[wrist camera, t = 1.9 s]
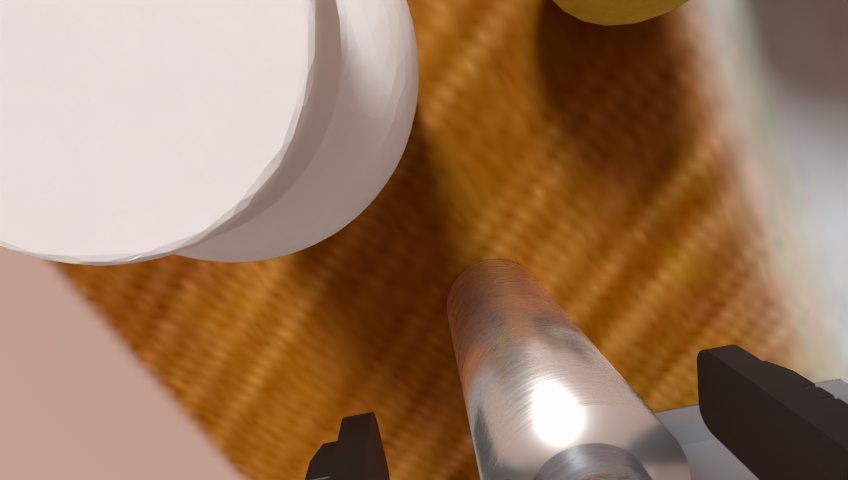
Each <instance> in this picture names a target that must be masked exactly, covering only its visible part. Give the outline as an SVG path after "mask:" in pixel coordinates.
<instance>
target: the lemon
mask: <svg viewBox="0 0 848 480" xmlns="http://www.w3.org/2000/svg"><path fill="white" fill-rule="evenodd" d="M553 1H554V2H555V3H556V4H557V5H558V6H559V7H560V8H561V9H562V10H563V11H564V12H566V13H568V14H570V15H572V16H574V17H576V18H578V19H579V20H581V21H584V22H589V23H594V24H599V25H605V26H611V25H624V24H634V23H638V22H642V21H645V20H648V19H650V18H653V17H656V16H659V15H662V14H665V13H667V12H670V11H672V10H674V9H676V8H677V7H679V6H681V5H682V4H684V3H685V2H687V1H688V0H553Z"/></svg>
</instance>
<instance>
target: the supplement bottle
mask: <svg viewBox="0 0 848 480" xmlns="http://www.w3.org/2000/svg"><path fill="white" fill-rule="evenodd" d="M418 84H419V68H418V52H417V42H416V37H415V31H414V26H413V21H412V18H411V14H410V11H409V7H408V4H407V1H406V0H0V247H3V248H6V249H9V250H12V251H15V252H18V253H21V254H25V255H28V256H32V257H35V258H39V259H46V260H52V261H59V262H65V263H70V264H87V265H99V266H104V265H119V264H129V263H136V262H142V261H147V260H152V259H157V258H162V257H165V256H168V255H171V254H177V255H181V256H185V257H189V258H194V259H201V260H209V261H219V262H251V261H260V260H266V259H271V258H276V257H280V256H284V255H288V254H291V253H295V252H298V251H300V250H303V249H305V248H307V247H310V246H312V245H315V244H317V243H319V242H321V241H322V240H324V239H326V238H328V237H330V236H331V235H333V234H335V233H337V232H338V231H339V230H341V229H342V228H343V227H345V226H346V225H347V224H349V223H350V222H351V221H353V220H354V219H355V218H356V217H357V216H358V215H360V214H361V213H362V212H363V211H364V210H365V209H366V208H367V207H368V206H369V205H370V204H371V202H372V201H373V200H374V199H375V197H376V196H377V195H378V194H379V192H380V191H381V190H382V188H383V187H384V186H385V184H386V183H387V182H388V180H389V178H390V177H391V175H392V174H393V172H394V171H395V169H396V167H397V165H398V163H399V161H400V159H401V157H402V155H403V153H404V150H405V147H406V145H407V142H408V139H409V136H410V132H411V129H412V124H413V120H414V116H415V112H416V106H417V98H418Z"/></svg>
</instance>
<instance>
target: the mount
mask: <svg viewBox="0 0 848 480" xmlns="http://www.w3.org/2000/svg"><path fill="white" fill-rule="evenodd" d="M815 386H816V387H821V388H822V389H824V390H826V391H827V392H829V393H831V394H832V395H834V397H835V399H838V398H839V399H841V400H842V401H844V402H846V403H847V404H848V384H847V383H846V382H844V381H842V380H840V379H836V380H831V381H826V382H820V383H815ZM654 414H655V415H656V416H657V417H658V419H659V420H660V421H661V422H662V423H663V424H664V425H665V427H666V428H667V429H668V430H669V431H670V432H671V433H672V435H673V436H674V437H675V438H676V440H677V441H678V443H679V444H680V445H681V447H682V449H683V451H684V453H685V455H686V458H687V461H688V464H689V468H690V475H691V480H759V479H758V478H757V477H756V476H755V475H754V474H753V473H752V472H751V471H750V470H749V469H748V468H747V467H746V466H745V465H744V464H743V463H742V462H740V461H739V460H738V459H737V458H736V457H735V456H734V455H733V454H732V453H731V452H730V451H729V450H728V449H727V448H726V447H725V446H724V445H723V444H722V443H721V442H720V441H719V440H718V439H717V438H716V437H715V436H714V435H713V434H712V433H711V432H710V431H709V430H708V428H707V426H706V425H705V423H704V421H703V419H702V416H701V413H700V409H699V405H696V406H691V407H685V408H680V409H675V410H669V411H664V412H658V413H654Z"/></svg>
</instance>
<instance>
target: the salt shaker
mask: <svg viewBox="0 0 848 480" xmlns="http://www.w3.org/2000/svg"><path fill="white" fill-rule="evenodd" d="M447 315H448V320H449V325H450V330H451V335H452V340H453V345H454V350H455V355H456V360H457V365H458V370H459V375H460V380H461V385H462V390H463V395H464V400H465V405H466V410H467V415H468V420H469V425H470V430H471V435H472V440H473V445H474V450H475V455H476V460H477V465H478V469H479V474H480V479H481V480H691V475H690V468H689V464H688V461H687V458H686V455H685V453H684V451H683V449H682V447H681V445H680V444H679V443H678V441H677V440H676V438H675V437H674V436H673V435H672V433H671V432H670V431H669V430H668V429H667V428H666V427H665V425H664V424H663V423H662V422H661V421H660V420H659V419H658V417H657V416H656V415H655V414H654V413H653V412H652V411H651V409H650V408H649V407H648V406H647V405H646V404H645V403H644V401H643V400H642V399H641V398H640V397H639V396H638V395H637V393H636V392H635V391H634V390H633V389H632V388H631V387H630V385H629V384H628V383H627V382H626V381H625V380H624V379H623V377H622V376H621V375H620V374H619V373H618V372H617V371H616V369H615V368H614V367H613V366H612V365H611V364H610V363H609V362H608V360H607V359H606V358H605V357H604V356H603V355H602V354H601V352H600V351H599V350H598V349H597V348H596V347H595V346H594V344H593V343H592V342H591V341H590V340H589V339H588V338H587V336H586V335H585V334H584V333H583V332H582V331H581V330H580V328H579V327H578V326H577V325H576V324H575V323H574V322H573V320H572V319H571V318H570V317H569V316H568V315H567V314H566V312H565V311H564V310H563V309H562V308H561V307H560V306H559V304H558V303H557V302H556V301H555V300H554V299H553V298H552V296H551V295H550V294H549V293H548V292H547V291H546V290H545V288H544V287H543V286H542V285H541V284H540V283H539V282H538V280H537V279H536V278H535V277H534V276H533V275H532V274H531V273H530V272H529V271H528V270H527V269H526V268H525V267H523V266H521V265H520V264H518V263H515V262H513V261H509V260H505V259H489V260H484V261H480V262H478V263H475V264H473V265H471V266H470V267H468V268H467V269H465V270H464V271H463V272H462V273H461V274H460V275H459V276H458V277H457V278H456V279H455V281H454V283H453V284H452V286H451V288H450V290H449V294H448V297H447Z"/></svg>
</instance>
